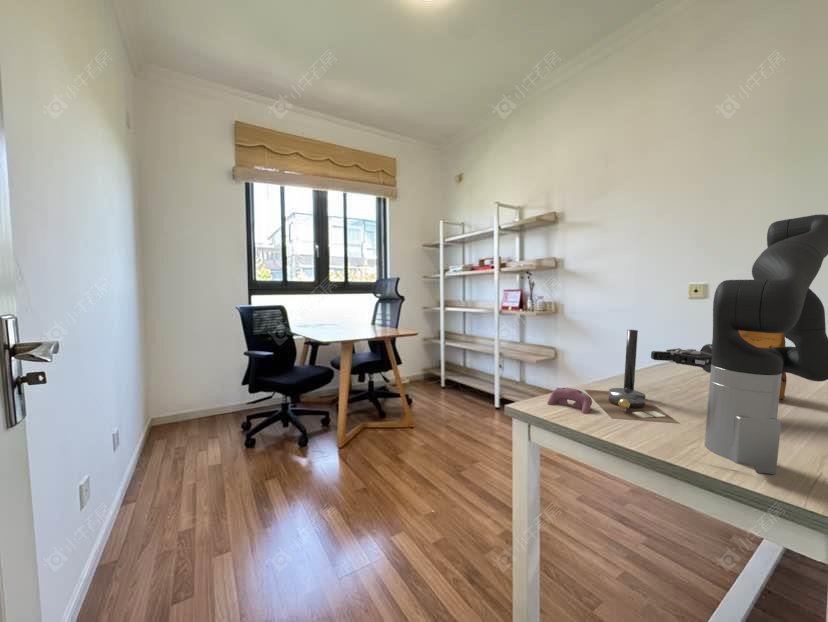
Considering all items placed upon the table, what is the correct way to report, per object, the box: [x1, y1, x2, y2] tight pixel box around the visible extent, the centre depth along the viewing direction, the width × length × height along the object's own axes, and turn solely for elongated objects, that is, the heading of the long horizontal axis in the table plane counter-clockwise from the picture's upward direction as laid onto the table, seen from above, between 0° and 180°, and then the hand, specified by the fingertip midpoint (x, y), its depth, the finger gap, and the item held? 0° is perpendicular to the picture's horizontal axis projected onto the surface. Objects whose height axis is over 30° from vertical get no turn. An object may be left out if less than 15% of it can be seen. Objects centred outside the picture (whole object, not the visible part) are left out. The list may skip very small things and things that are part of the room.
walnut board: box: [583, 389, 681, 424], centre depth 88 cm, size 22×14×2 cm, turn 169°
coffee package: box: [739, 330, 787, 400], centre depth 100 cm, size 10×12×22 cm
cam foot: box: [608, 329, 646, 411], centre depth 88 cm, size 18×8×18 cm, turn 145°
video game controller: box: [546, 387, 593, 415], centre depth 87 cm, size 10×5×7 cm, turn 48°
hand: (652, 355), depth 93 cm, fingers closed
